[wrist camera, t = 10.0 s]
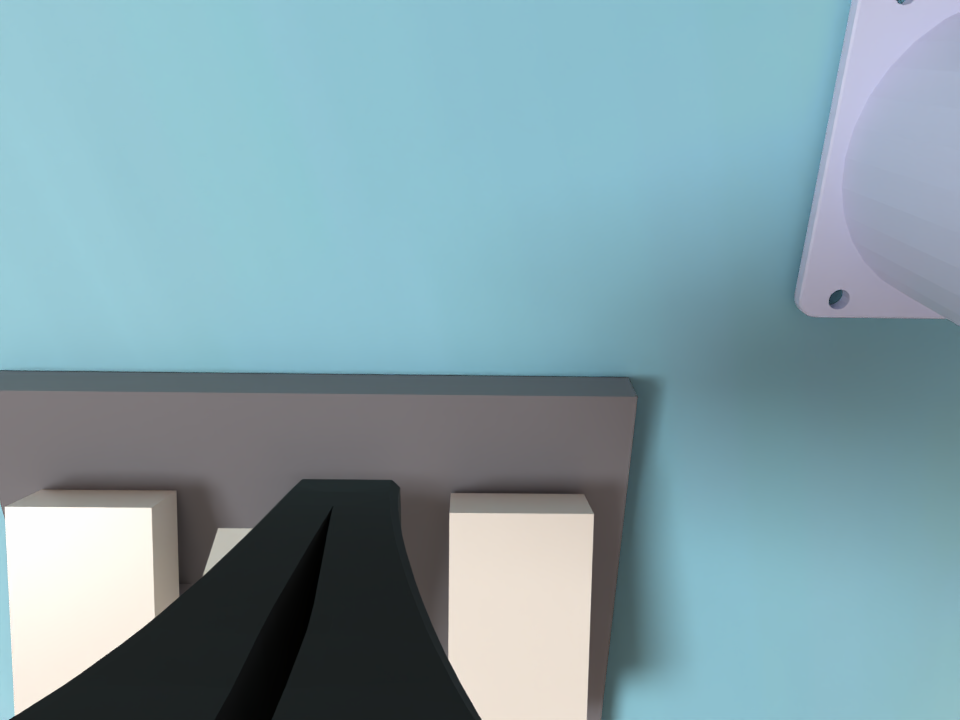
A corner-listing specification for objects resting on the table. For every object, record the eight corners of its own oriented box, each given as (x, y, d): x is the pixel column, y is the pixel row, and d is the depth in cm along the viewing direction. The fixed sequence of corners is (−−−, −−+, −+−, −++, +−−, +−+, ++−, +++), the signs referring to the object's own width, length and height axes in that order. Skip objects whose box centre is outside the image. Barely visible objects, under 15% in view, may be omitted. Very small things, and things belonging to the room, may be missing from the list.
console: (628, 377, 20) (645, 412, 18) (591, 723, 25) (601, 779, 23) (-4, 370, 20) (-55, 406, 18) (88, 722, 25) (56, 779, 23)
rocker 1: (176, 490, 20) (150, 508, 18) (183, 770, 21) (158, 812, 19) (41, 489, 20) (2, 508, 18) (53, 770, 21) (16, 813, 19)
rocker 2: (583, 493, 20) (594, 515, 18) (575, 765, 21) (584, 809, 19) (451, 493, 20) (449, 514, 18) (448, 765, 21) (447, 809, 19)
